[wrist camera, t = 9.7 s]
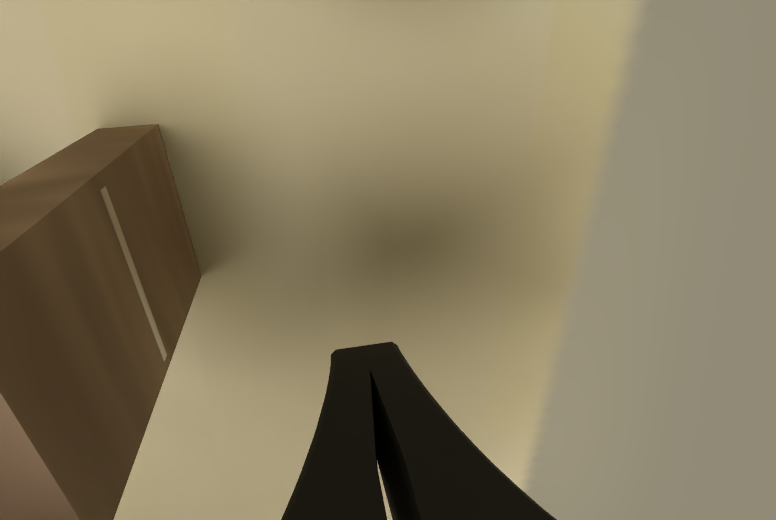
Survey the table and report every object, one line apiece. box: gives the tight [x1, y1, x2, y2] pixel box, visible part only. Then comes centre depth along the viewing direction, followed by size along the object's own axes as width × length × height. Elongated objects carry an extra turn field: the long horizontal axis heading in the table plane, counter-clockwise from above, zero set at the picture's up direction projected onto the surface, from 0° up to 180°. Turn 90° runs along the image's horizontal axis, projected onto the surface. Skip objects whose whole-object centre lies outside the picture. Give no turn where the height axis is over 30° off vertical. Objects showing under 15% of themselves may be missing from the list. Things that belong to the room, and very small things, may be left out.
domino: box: [0, 124, 201, 520], centre depth 10 cm, size 2×5×9 cm, turn 2°
